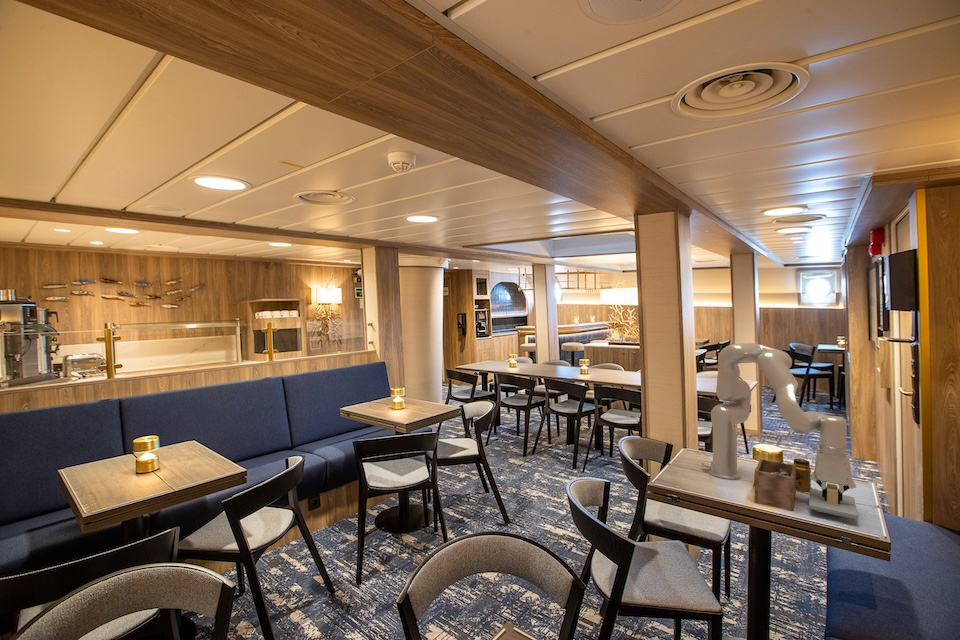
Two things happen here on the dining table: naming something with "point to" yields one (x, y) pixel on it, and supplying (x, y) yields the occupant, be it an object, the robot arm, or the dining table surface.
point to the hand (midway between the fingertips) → (832, 500)
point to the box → (775, 485)
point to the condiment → (803, 475)
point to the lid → (833, 503)
